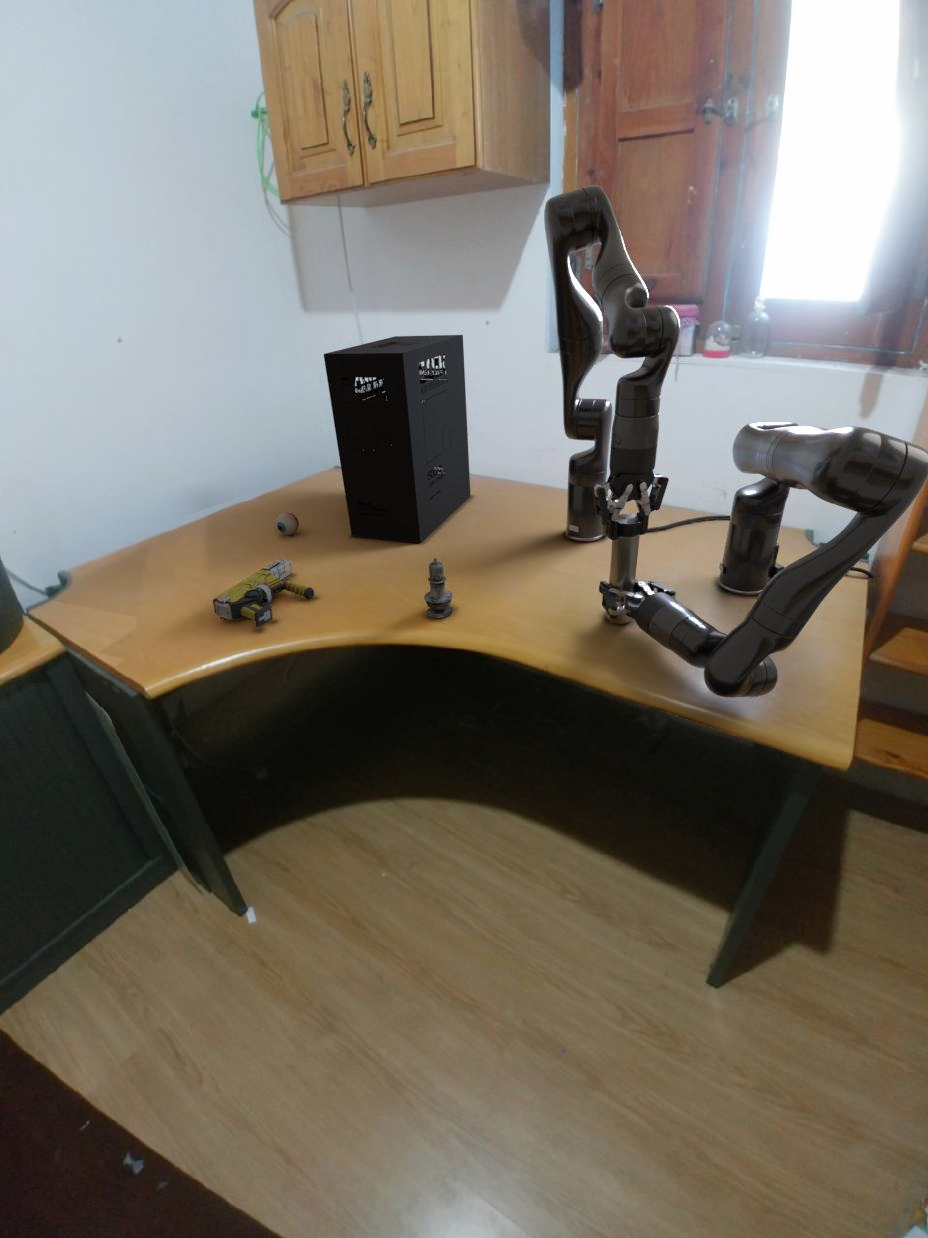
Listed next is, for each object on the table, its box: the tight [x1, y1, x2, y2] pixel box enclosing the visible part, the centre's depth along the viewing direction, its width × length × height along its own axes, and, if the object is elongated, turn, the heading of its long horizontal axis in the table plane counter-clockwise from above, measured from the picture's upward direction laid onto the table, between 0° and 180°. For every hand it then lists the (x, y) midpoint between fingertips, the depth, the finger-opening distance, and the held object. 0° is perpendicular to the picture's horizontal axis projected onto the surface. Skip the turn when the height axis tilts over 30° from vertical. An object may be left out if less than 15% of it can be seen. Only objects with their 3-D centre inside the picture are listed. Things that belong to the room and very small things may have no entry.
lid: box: [617, 513, 642, 536], centre depth 108 cm, size 5×5×2 cm
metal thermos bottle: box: [606, 534, 641, 625], centre depth 113 cm, size 5×5×20 cm
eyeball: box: [275, 511, 300, 536], centre depth 163 cm, size 6×6×6 cm
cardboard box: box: [323, 334, 471, 544], centre depth 162 cm, size 38×20×45 cm, turn 159°
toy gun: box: [212, 558, 315, 628], centre depth 130 cm, size 5×24×15 cm
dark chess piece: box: [423, 557, 454, 619], centre depth 120 cm, size 6×6×12 cm
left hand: (625, 535), depth 109 cm, fingers closed on lid, 5 cm apart
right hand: (613, 582), depth 116 cm, fingers closed on metal thermos bottle, 4 cm apart
